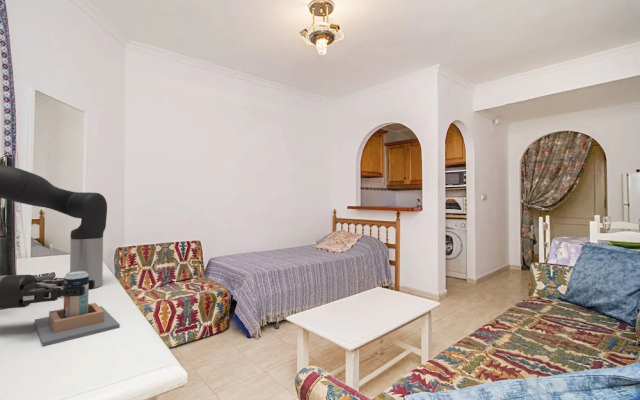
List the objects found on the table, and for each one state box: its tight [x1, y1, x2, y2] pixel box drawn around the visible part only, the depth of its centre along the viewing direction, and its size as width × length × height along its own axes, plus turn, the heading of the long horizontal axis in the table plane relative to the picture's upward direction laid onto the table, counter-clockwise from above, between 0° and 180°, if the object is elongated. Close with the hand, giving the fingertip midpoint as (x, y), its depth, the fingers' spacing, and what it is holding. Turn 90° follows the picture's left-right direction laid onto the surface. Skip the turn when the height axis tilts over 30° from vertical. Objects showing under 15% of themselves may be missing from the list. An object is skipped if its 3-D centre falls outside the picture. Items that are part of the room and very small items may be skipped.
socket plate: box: [34, 302, 120, 347], centre depth 77 cm, size 18×14×3 cm
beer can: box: [63, 271, 90, 319], centre depth 77 cm, size 5×5×12 cm
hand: (89, 287), depth 78 cm, fingers open, 5 cm apart
